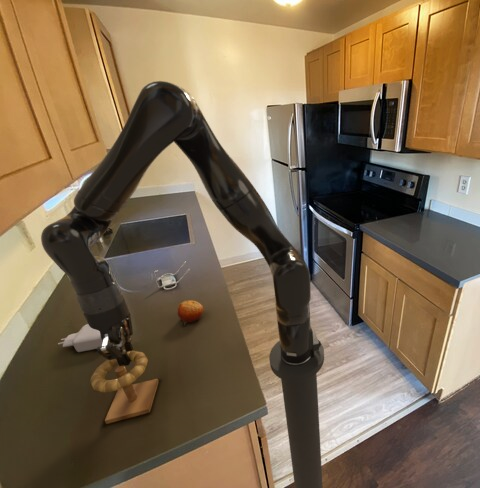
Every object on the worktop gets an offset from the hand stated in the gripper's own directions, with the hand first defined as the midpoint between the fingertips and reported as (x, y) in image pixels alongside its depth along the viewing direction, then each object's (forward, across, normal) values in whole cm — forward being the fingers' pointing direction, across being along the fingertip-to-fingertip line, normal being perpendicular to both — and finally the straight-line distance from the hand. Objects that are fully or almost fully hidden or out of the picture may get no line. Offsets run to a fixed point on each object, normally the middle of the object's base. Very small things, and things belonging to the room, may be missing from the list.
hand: (127, 359), depth 68 cm
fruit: (+10, +26, -10) cm, 29 cm away
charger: (+10, +24, +20) cm, 33 cm away
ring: (-1, -4, 0) cm, 4 cm away
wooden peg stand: (+10, -4, 0) cm, 11 cm away
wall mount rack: (+10, +57, +1) cm, 58 cm away
